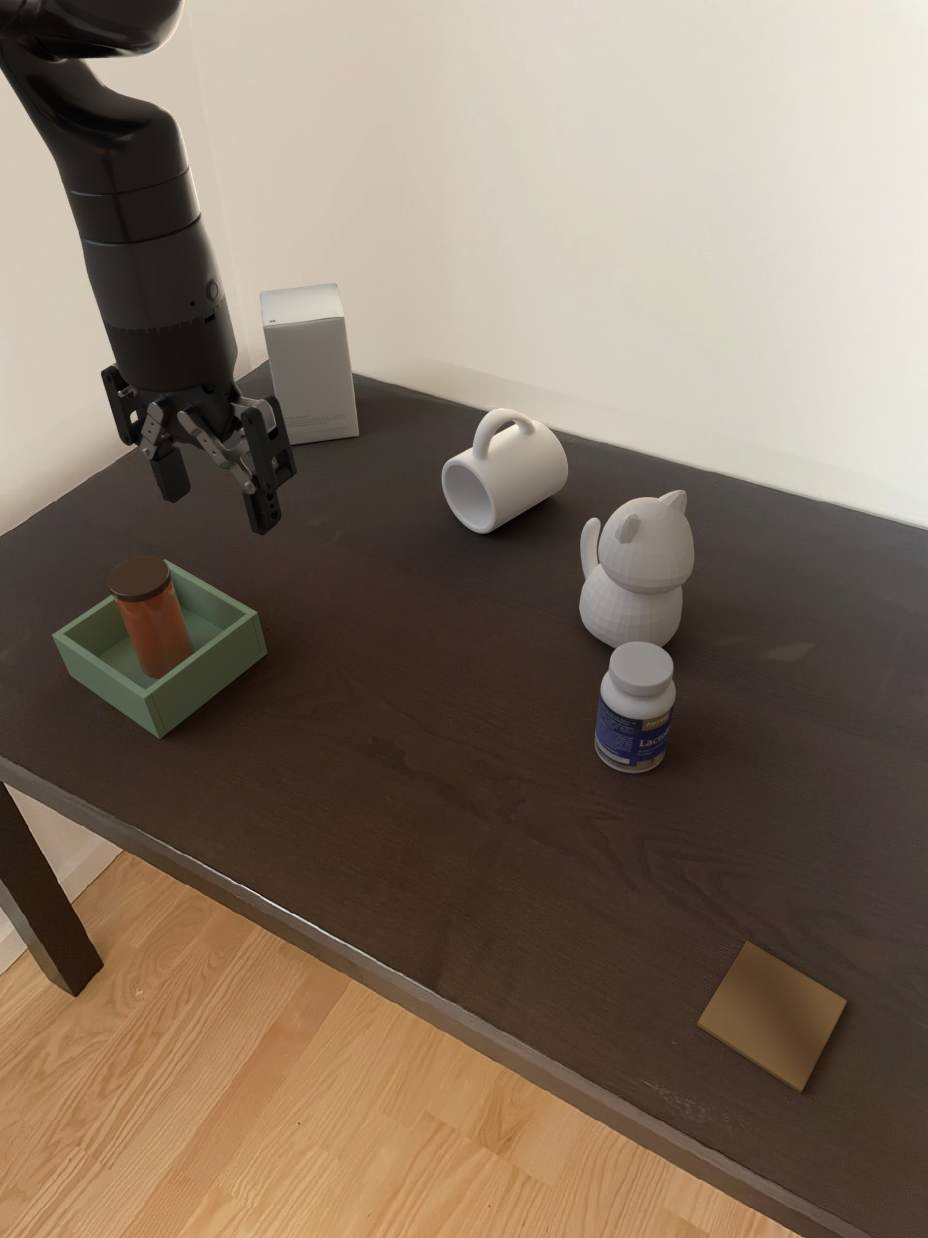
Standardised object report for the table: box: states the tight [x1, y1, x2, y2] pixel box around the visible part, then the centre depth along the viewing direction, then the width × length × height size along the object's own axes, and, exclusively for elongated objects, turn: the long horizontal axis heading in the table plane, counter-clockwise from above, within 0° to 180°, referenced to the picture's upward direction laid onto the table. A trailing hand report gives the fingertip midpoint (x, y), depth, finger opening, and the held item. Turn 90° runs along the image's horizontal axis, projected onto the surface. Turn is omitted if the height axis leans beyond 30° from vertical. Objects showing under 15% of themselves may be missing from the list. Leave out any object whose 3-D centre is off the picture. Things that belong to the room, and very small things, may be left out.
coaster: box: [696, 940, 848, 1094], centre depth 62 cm, size 7×7×1 cm
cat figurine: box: [578, 489, 695, 650], centre depth 84 cm, size 9×12×15 cm
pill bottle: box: [594, 642, 677, 774], centre depth 75 cm, size 6×6×10 cm
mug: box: [441, 407, 569, 535], centre depth 98 cm, size 8×10×12 cm
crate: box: [51, 558, 268, 740], centre depth 85 cm, size 12×12×5 cm
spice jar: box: [107, 555, 195, 679], centre depth 83 cm, size 5×5×10 cm
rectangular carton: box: [259, 282, 360, 446], centre depth 110 cm, size 9×9×15 cm
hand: (221, 512), depth 70 cm, fingers open, 8 cm apart
